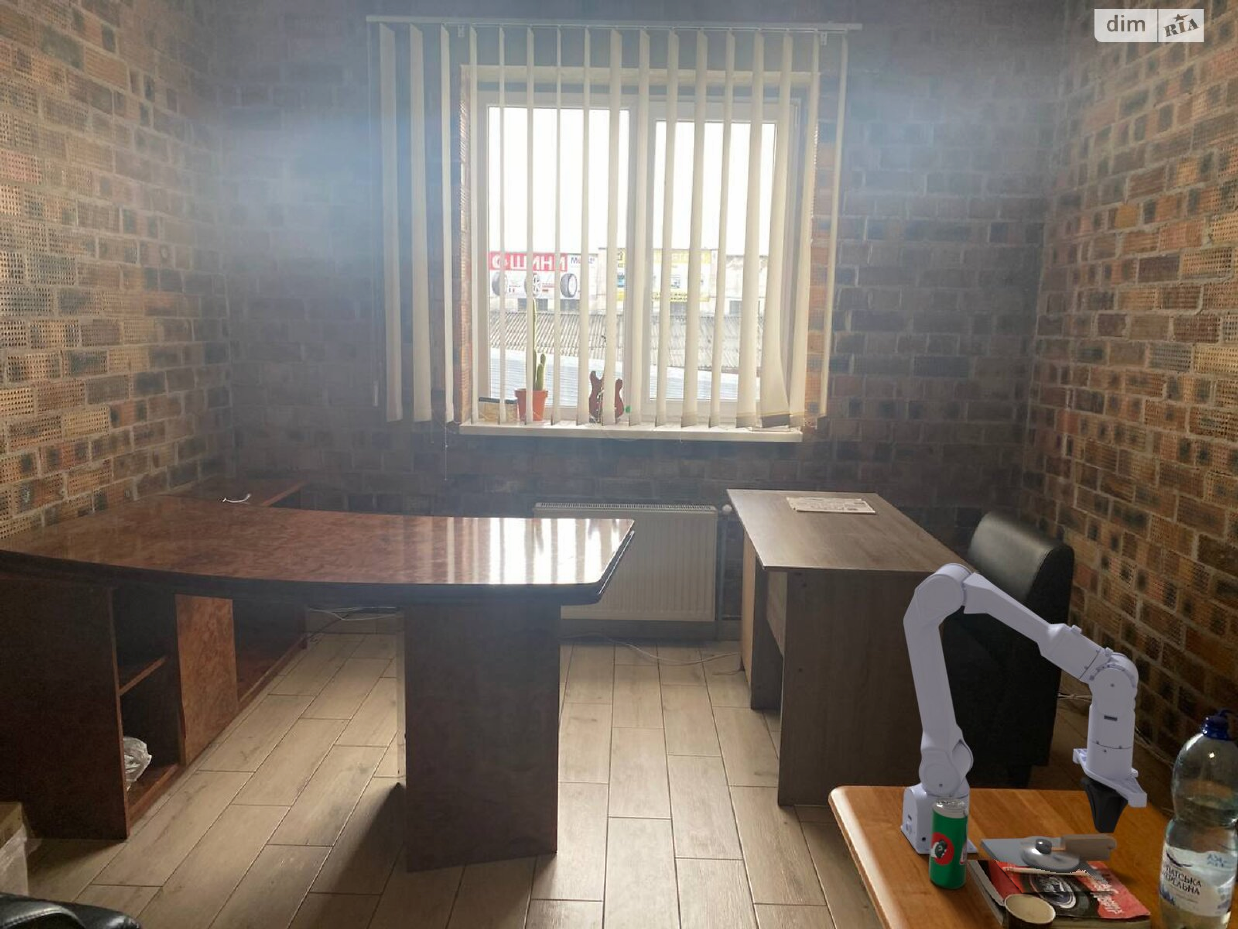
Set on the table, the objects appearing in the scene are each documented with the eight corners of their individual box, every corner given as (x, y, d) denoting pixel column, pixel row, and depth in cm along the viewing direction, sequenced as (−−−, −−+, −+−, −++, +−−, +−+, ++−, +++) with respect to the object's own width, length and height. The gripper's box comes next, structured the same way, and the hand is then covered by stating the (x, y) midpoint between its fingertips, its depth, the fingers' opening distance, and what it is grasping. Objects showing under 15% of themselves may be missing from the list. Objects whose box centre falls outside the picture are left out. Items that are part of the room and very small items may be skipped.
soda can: (968, 893, 128) (972, 813, 126) (931, 889, 129) (934, 809, 127) (961, 873, 133) (965, 797, 131) (926, 869, 134) (929, 793, 132)
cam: (1037, 875, 130) (1038, 852, 130) (1010, 845, 138) (1011, 824, 138) (1131, 872, 131) (1132, 850, 131) (1099, 844, 139) (1100, 822, 139)
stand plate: (1021, 893, 128) (1022, 886, 128) (980, 845, 141) (980, 838, 141) (1109, 891, 128) (1110, 884, 128) (1060, 843, 141) (1061, 837, 141)
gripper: (1170, 762, 121) (1164, 857, 122) (1107, 720, 135) (1101, 806, 136) (1120, 763, 120) (1114, 858, 122) (1061, 721, 135) (1056, 806, 136)
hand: (1104, 831), depth 129 cm, fingers closed
